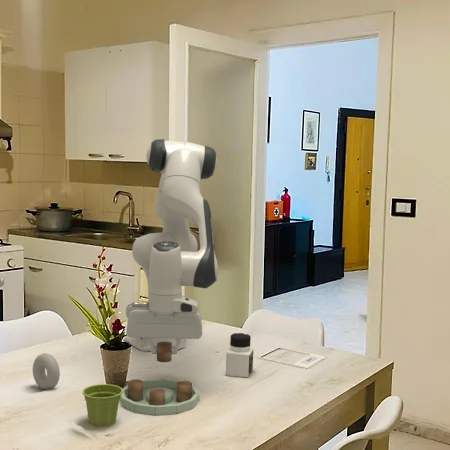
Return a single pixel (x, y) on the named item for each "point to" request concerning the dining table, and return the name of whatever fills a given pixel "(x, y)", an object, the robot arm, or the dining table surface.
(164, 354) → the wooden cylinder
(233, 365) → the medicine bottle
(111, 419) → the plant pot
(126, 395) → the tray
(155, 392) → the seated bead
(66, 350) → the dining table surface
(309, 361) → the photo frame
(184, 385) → the loose bead
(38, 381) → the donut
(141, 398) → the seated bead
